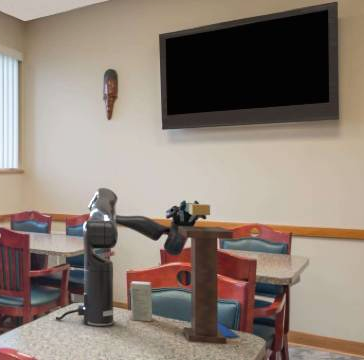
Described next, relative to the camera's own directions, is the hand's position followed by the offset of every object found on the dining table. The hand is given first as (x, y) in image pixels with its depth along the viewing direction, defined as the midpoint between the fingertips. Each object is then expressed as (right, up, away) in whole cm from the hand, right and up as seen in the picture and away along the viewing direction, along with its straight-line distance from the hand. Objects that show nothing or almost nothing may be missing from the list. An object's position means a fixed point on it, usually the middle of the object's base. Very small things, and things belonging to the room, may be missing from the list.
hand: (190, 203), depth 163 cm
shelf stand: (-4, -39, -20) cm, 43 cm away
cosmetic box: (-16, -39, 0) cm, 42 cm away
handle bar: (-1, -3, -5) cm, 6 cm away
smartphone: (+3, -39, -12) cm, 41 cm away
